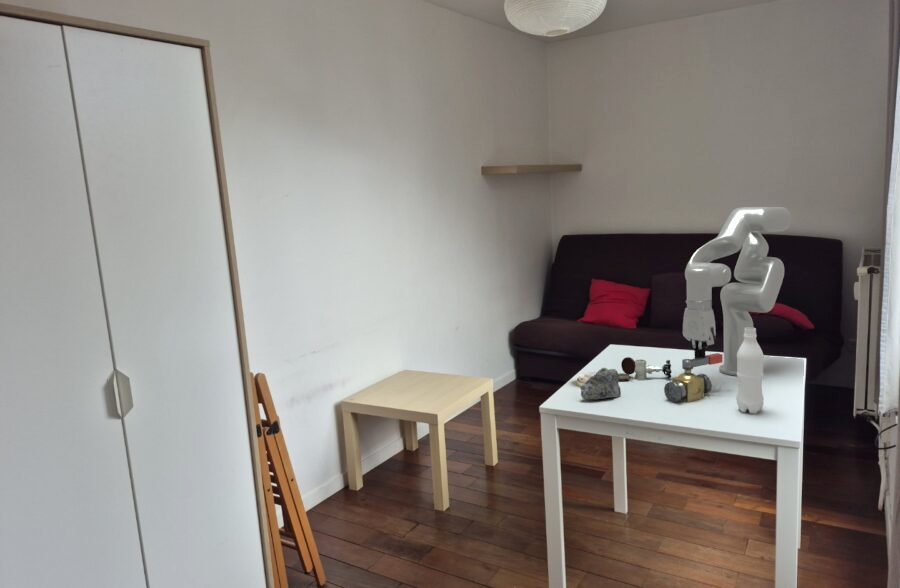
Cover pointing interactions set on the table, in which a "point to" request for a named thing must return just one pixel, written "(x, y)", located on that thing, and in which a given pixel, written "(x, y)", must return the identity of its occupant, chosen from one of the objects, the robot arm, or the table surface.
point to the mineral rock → (601, 385)
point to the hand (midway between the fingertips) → (700, 359)
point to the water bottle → (750, 373)
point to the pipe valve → (687, 387)
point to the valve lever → (702, 361)
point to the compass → (627, 369)
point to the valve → (650, 369)
